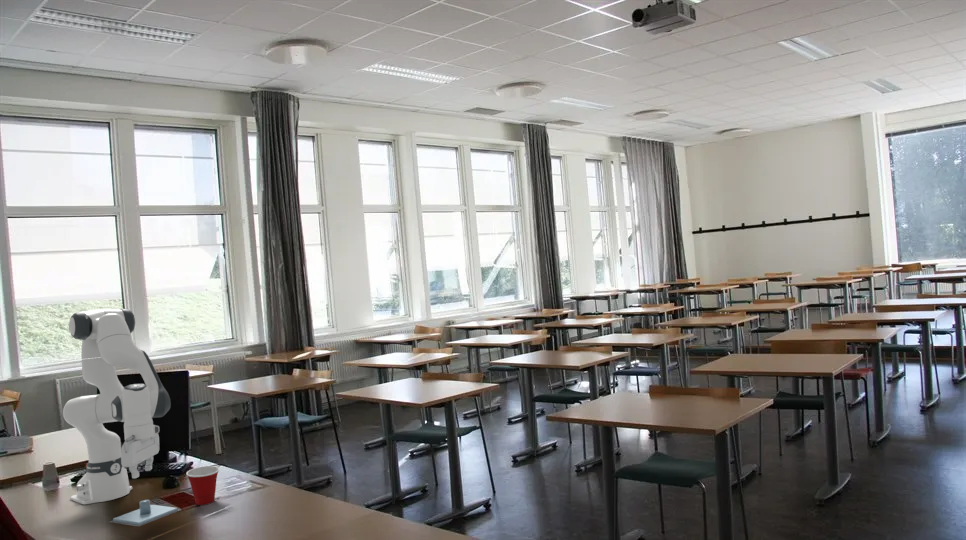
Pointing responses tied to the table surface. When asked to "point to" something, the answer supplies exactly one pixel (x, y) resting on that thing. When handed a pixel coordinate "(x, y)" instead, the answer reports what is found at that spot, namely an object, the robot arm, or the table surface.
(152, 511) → the lid
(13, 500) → the table surface
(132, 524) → the grey flat square plate
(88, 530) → the table surface
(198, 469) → the plastic cup
